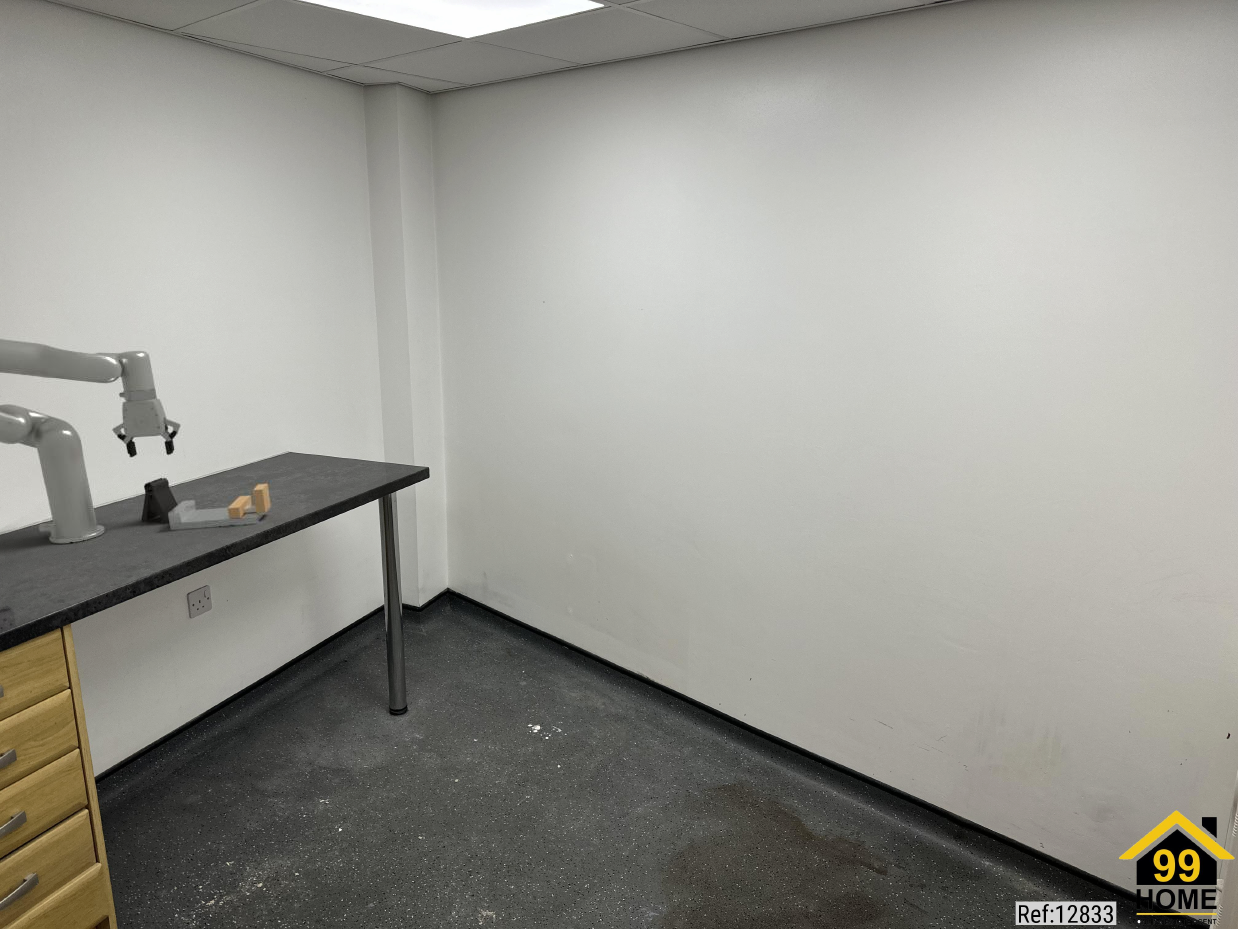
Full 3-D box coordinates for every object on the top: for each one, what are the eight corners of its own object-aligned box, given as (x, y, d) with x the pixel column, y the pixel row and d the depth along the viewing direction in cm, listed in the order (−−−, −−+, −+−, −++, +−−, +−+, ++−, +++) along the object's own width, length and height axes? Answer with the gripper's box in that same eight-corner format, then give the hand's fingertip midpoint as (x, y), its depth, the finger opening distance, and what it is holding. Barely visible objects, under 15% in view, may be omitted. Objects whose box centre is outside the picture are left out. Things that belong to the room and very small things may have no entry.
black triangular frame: (141, 522, 223) (134, 482, 220) (157, 516, 229) (150, 477, 226) (168, 523, 221) (161, 483, 218) (183, 517, 227) (177, 478, 224)
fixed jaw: (169, 523, 215) (168, 513, 214) (185, 510, 226) (183, 500, 226) (181, 522, 215) (179, 512, 215) (196, 509, 227) (194, 500, 226)
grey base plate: (171, 530, 215) (169, 523, 215) (186, 517, 227) (185, 510, 226) (256, 523, 219) (255, 517, 219) (267, 511, 231) (266, 504, 230)
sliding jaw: (229, 518, 217) (225, 494, 216) (241, 505, 229) (237, 483, 227) (263, 515, 219) (259, 492, 217) (273, 503, 230) (270, 481, 229)
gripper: (100, 399, 211) (113, 460, 215) (169, 396, 214) (179, 455, 218) (112, 395, 218) (124, 454, 222) (178, 391, 221) (189, 449, 225)
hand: (151, 454), depth 220 cm, fingers open, 9 cm apart
